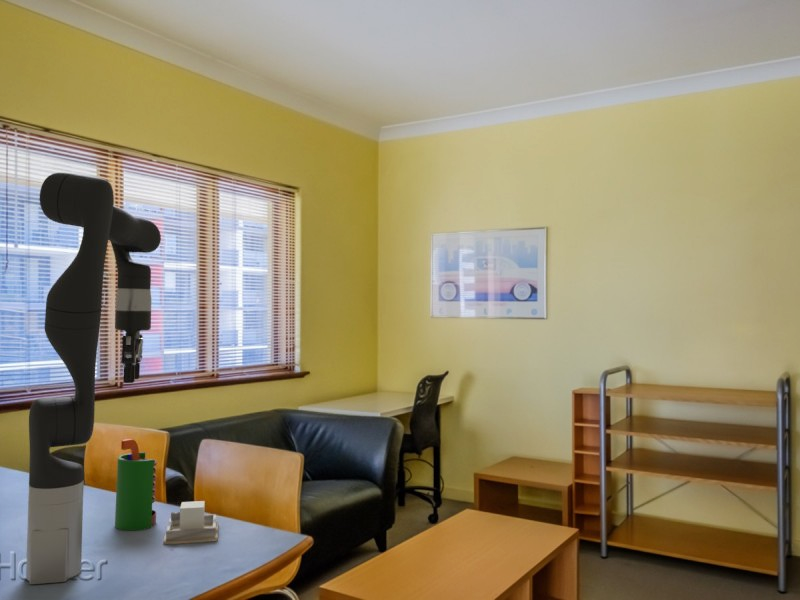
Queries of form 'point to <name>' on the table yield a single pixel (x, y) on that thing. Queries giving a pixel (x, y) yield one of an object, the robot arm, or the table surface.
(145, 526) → the green cutaway cylinder
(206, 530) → the mount pocket
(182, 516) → the cream cube on peg
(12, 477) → the table surface
